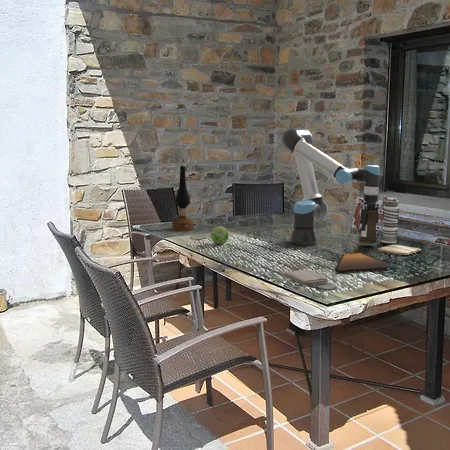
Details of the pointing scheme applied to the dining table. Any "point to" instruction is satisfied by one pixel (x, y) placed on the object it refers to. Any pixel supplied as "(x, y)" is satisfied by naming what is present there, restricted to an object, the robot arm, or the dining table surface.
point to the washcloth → (306, 277)
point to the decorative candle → (390, 220)
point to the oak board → (398, 249)
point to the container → (370, 228)
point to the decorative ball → (219, 235)
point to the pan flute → (358, 263)
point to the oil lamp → (182, 206)
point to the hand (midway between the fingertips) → (368, 235)
